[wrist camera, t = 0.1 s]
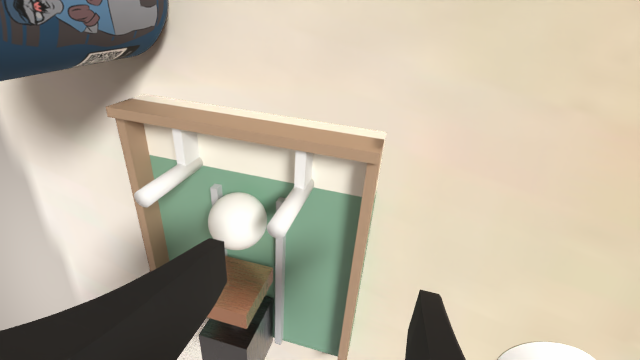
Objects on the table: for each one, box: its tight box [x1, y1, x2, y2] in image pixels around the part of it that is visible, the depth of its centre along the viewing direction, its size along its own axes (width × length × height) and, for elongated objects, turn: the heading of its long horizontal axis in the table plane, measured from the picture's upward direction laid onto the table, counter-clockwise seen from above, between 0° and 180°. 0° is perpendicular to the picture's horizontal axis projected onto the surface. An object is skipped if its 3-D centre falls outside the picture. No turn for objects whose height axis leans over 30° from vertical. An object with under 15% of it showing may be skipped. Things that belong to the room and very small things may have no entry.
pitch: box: [106, 94, 387, 360], centre depth 23 cm, size 19×16×6 cm
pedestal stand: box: [199, 256, 273, 360], centre depth 25 cm, size 9×4×5 cm, turn 176°
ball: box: [208, 192, 267, 250], centre depth 21 cm, size 4×4×4 cm
